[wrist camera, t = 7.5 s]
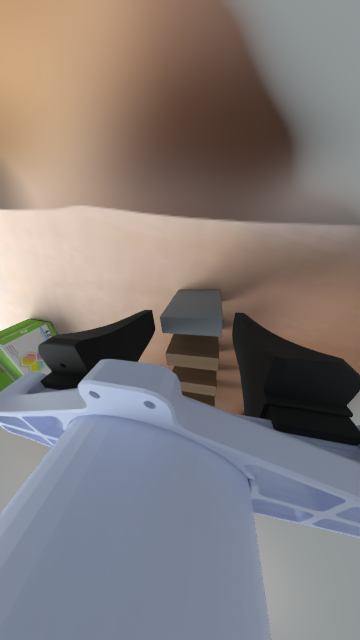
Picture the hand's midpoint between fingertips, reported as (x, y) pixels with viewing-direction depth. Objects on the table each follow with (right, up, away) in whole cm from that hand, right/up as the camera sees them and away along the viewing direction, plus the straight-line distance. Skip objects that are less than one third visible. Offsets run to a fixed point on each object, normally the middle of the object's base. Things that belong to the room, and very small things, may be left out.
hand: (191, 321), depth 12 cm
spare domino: (+1, +3, +5) cm, 6 cm away
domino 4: (+2, 0, +7) cm, 7 cm away
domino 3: (+2, -4, +9) cm, 10 cm away
